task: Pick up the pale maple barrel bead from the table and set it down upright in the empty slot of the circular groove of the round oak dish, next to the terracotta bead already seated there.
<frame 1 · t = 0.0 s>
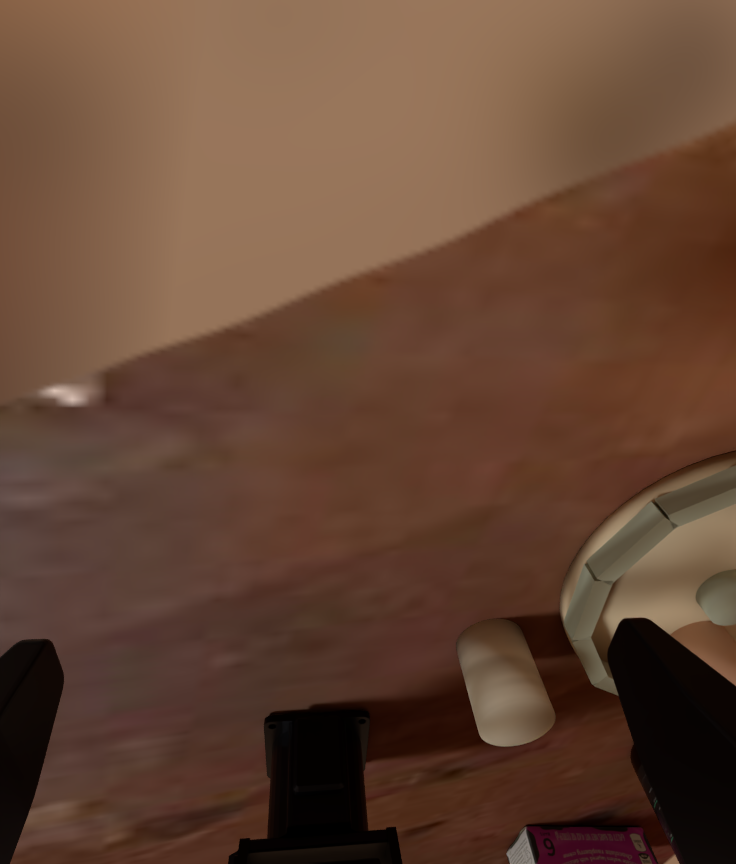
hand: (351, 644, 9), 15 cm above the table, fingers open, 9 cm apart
candy bar box: (572, 834, 47), on the table
terracotta bead: (692, 643, 33), point 1 cm above the table, touching ring dish
supplement bottle: (671, 738, 40), on the table
maple bead: (489, 641, 32), on the table
ring dish: (711, 575, 31), on the table
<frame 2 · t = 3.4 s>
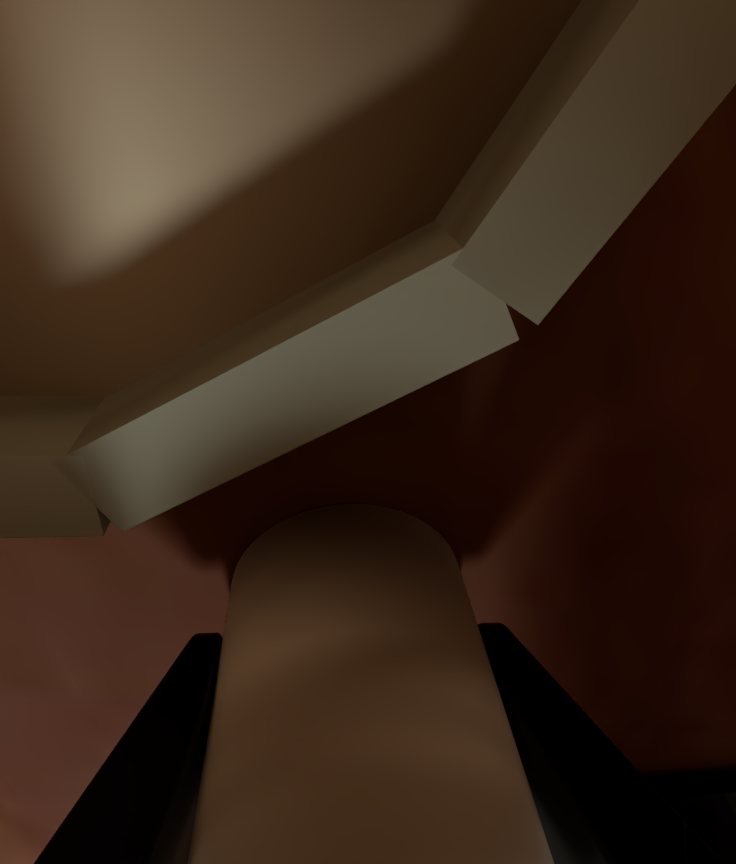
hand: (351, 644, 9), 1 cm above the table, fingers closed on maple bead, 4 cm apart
maple bead: (347, 593, 10), on the table, touching gripper
when the fingers open (3 cm above the table, at t = 7.4 s): maple bead stays where it is, resting on ring dish.
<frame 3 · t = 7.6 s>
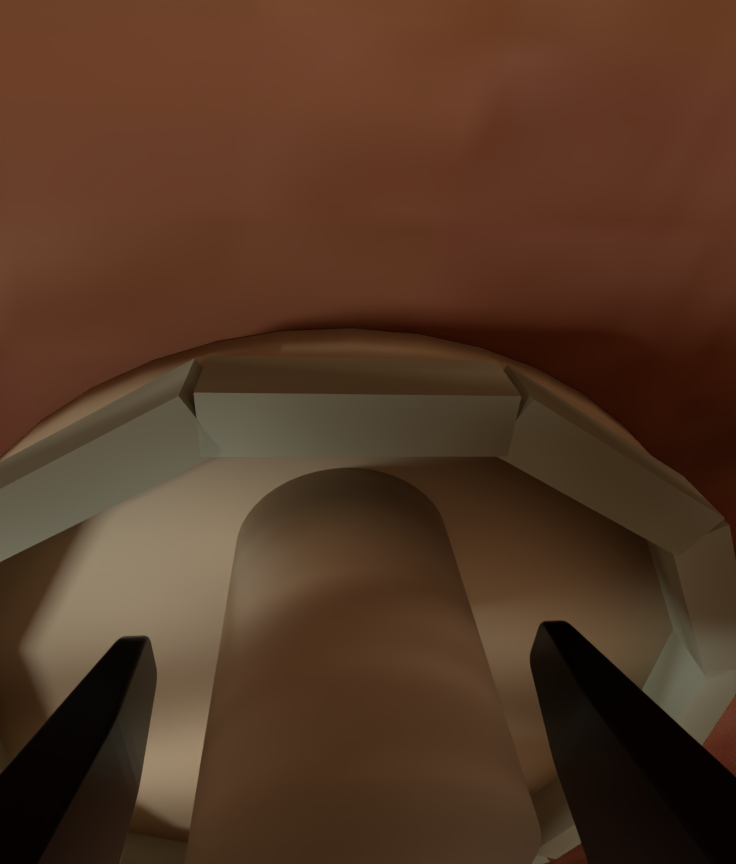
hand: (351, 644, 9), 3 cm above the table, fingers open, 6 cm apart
maple bead: (343, 554, 10), point 1 cm above the table, touching ring dish
ring dish: (336, 661, 14), on the table
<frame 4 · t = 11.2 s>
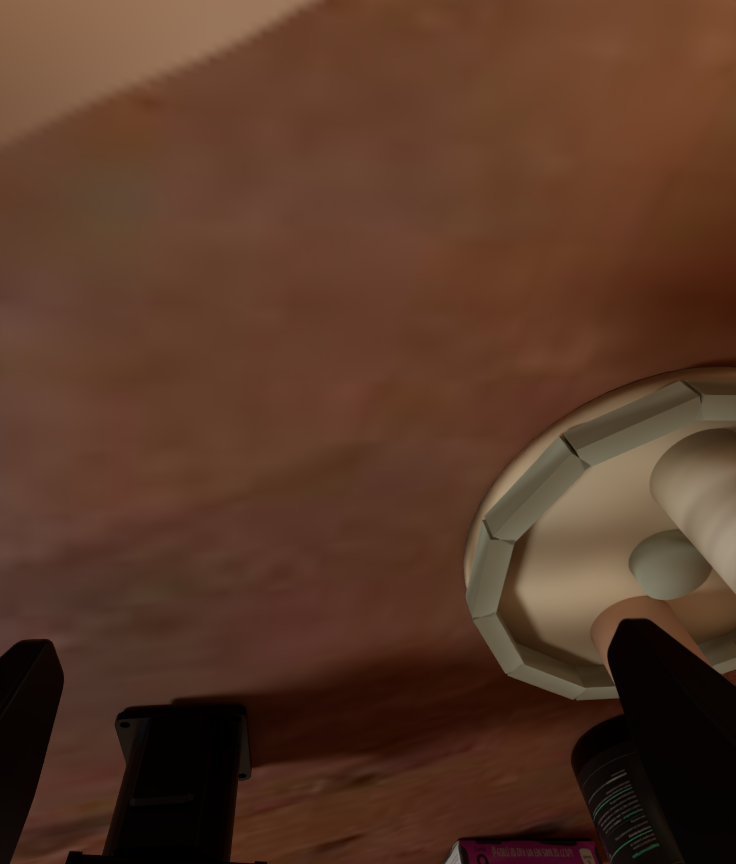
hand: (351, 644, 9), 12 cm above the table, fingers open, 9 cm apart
candy bar box: (514, 848, 41), on the table
terracotta bead: (630, 624, 27), point 1 cm above the table, touching ring dish
supplement bottle: (619, 740, 35), on the table
maple bead: (698, 471, 22), point 1 cm above the table, touching ring dish
ring dish: (649, 540, 25), on the table
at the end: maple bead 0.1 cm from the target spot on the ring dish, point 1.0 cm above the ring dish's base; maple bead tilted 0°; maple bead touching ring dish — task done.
